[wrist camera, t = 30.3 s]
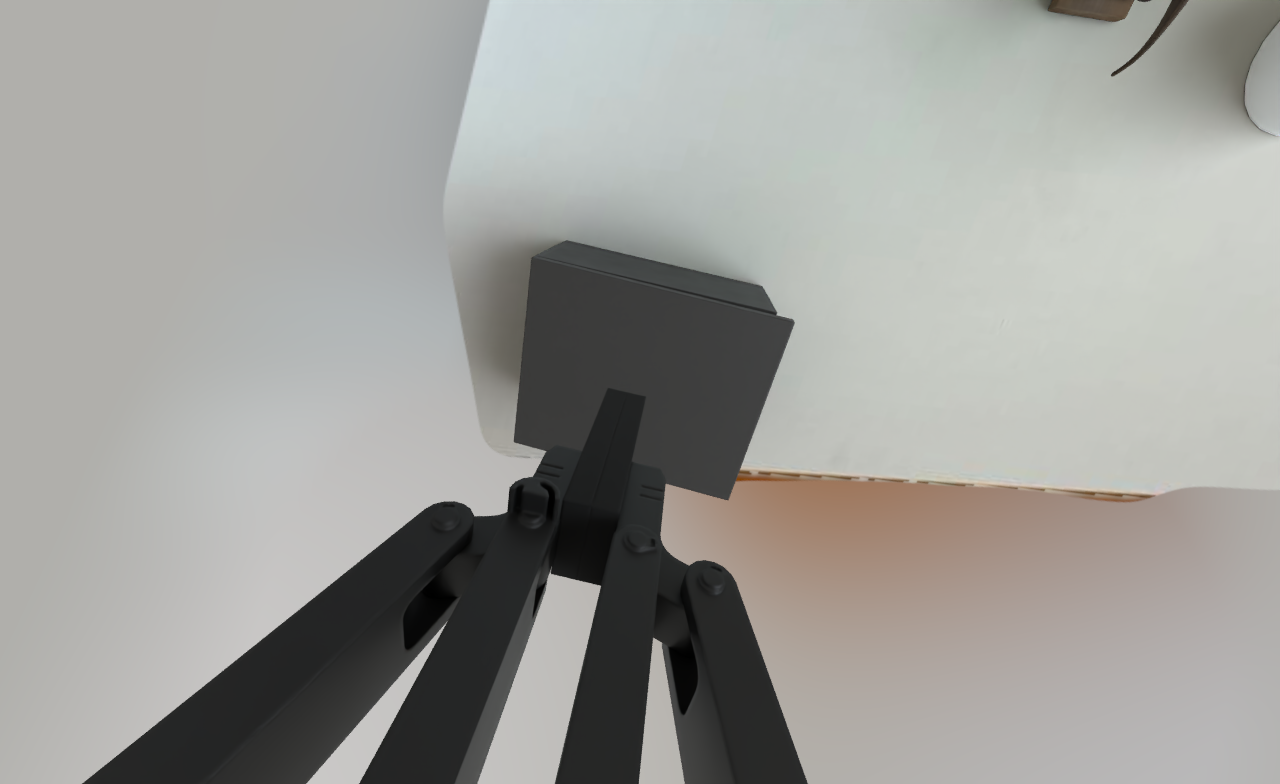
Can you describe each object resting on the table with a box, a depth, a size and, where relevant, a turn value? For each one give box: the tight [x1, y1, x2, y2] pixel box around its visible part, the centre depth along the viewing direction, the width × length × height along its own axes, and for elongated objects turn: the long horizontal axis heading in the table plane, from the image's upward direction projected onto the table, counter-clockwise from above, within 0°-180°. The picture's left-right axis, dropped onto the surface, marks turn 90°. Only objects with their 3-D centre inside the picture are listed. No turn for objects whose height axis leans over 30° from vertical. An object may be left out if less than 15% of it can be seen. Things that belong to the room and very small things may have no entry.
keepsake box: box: [536, 240, 777, 315], centre depth 40 cm, size 18×16×8 cm
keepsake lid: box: [514, 256, 795, 500], centre depth 35 cm, size 19×16×1 cm
